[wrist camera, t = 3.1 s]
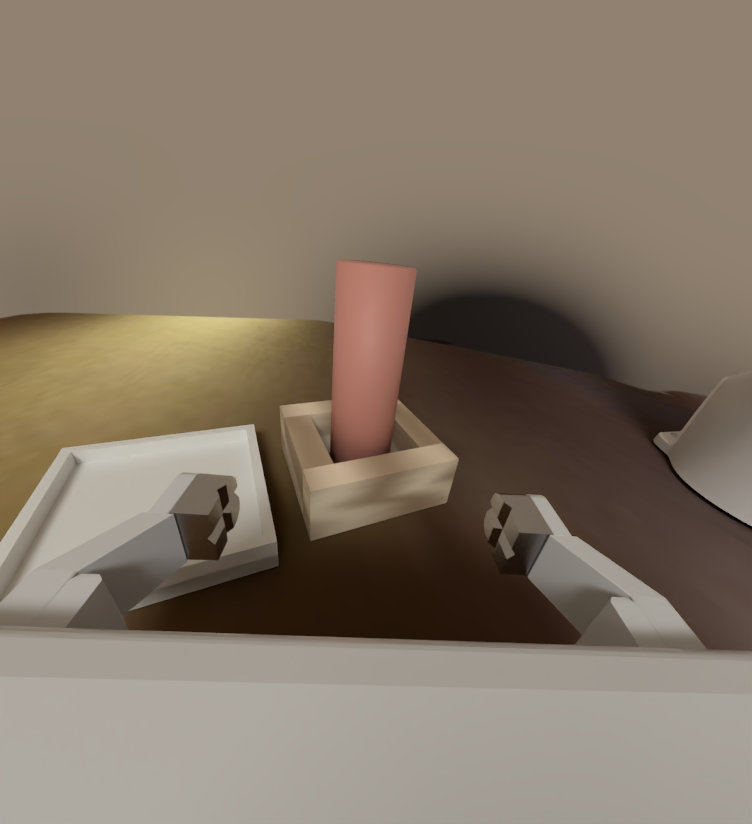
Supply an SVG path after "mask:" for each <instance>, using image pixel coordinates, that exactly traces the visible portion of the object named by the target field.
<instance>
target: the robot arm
mask: <svg viewBox="0 0 752 824" xmlns="http://www.w3.org/2000/svg"><path fill="white" fill-rule="evenodd" d="M653 442H654V443H655V444H656V445H657V446H658V447H659V448H660V449H661V450H662V451H663V452H665V453H666V454H667V455H668V457H669V459H670V461H671V464H672V466H673V468H674V469H675V471H676V472H677V473H678V475H679V476H680V477H681V478H682V479H683V480H684V481H685V482H686V483H687V484H688V485H689V486H691V487H692V488H693V489H694V490H695V491H697V492H698V493H699V494H701V495H702V496H703V497H705V498H706V499H708V500H709V501H710V502H712V503H713V504H715V505H716V506H718V507H720V508H721V509H723V510H724V511H726V512H728V513H729V514H731V515H733V516H734V517H736V518H738V519H739V520H741V521H743V522H745V523H747V524H748V525H750V526H752V371H749V372H746V373H742V374H736V375H733V376H731V377H725V378H723V379H722V380H721V381H720V382H719V383H718V384H717V385H716V386H715V388H714V389H713V390H712V392H711V393H710V394H709V395H708V397H707V398H706V399H705V400H704V402H703V403H702V404H701V406H700V407H699V408H698V409H697V411H696V412H695V413H694V415H693V416H692V417H691V418H690V420H689V421H688V422H687V424H686V425H685V426H684V428H683V429H682V430H681V431H678V432H660V433H658V435H657V436H656V437H655V438H654V439H653ZM236 488H237V482H236V478H235V477H234V476H226V475H214V474H203V473H200V474H198V473H188V472H183V473H181V474H179V475H178V476H177V477H176V478H175V479H174V481H173V482H172V483H171V484H170V485H169V487H168V488H167V489H166V490H165V492H164V493H163V494H162V495H161V496H160V498H159V499H158V500H157V501H156V503H155V504H154V505H153V506H152V508H151V509H150V510H149V511H148V512H141V513H140V514H138V515H136V516H134V517H132V518H130V519H128V520H126V521H124V522H123V523H121V524H119V525H117V526H115V527H113V528H111V529H109V530H108V531H106V532H104V533H102V534H100V535H98V536H96V537H94V538H92V539H91V540H89V541H87V542H85V543H83V544H81V545H79V546H77V547H75V548H74V549H72V550H70V551H68V552H66V553H64V554H62V555H60V556H58V557H57V558H55V559H53V560H51V561H49V562H47V563H45V564H43V565H42V566H40V567H38V568H36V569H34V570H33V571H32V572H31V573H30V574H29V575H28V576H27V577H26V578H25V579H24V580H23V581H22V582H21V583H20V584H19V585H18V586H17V587H16V588H15V589H14V590H13V591H12V592H11V593H10V594H9V595H7V596H6V597H5V598H4V599H3V600H2V601H1V602H0V824H752V651H740V650H710V649H707V648H706V647H705V646H704V645H703V643H702V642H701V641H700V640H699V639H698V637H697V636H696V635H695V634H694V632H693V631H692V630H691V629H690V628H689V626H688V625H687V624H686V623H685V621H684V620H683V619H682V618H681V617H680V615H679V614H678V613H677V612H676V610H675V609H674V608H673V607H672V605H671V604H670V603H669V602H668V601H667V599H666V598H665V597H663V596H662V595H660V594H659V593H657V592H656V591H654V590H653V589H652V588H650V587H649V586H647V585H646V584H644V583H643V582H641V581H640V580H639V579H637V578H636V577H634V576H633V575H631V574H630V573H628V572H627V571H626V570H624V569H623V568H621V567H620V566H618V565H617V564H616V563H614V562H613V561H611V560H610V559H608V558H607V557H605V556H604V555H603V554H601V553H600V552H598V551H597V550H595V549H594V548H592V547H591V546H590V545H588V544H587V543H585V542H584V541H582V540H581V539H579V538H578V537H574V536H571V534H570V533H569V531H568V530H567V528H566V527H565V525H564V524H563V522H562V521H561V519H560V518H559V517H558V515H557V514H556V512H555V511H554V509H553V508H552V506H551V505H550V503H549V502H548V500H547V499H546V498H545V497H544V496H542V495H528V494H526V495H524V494H506V493H495V494H494V495H493V497H492V499H491V504H492V507H493V508H491V509H490V510H489V511H487V512H486V515H485V519H484V531H485V536H486V538H487V541H488V542H489V543H490V544H491V545H492V546H493V547H494V548H495V549H494V552H493V557H494V559H495V562H496V564H497V567H498V569H499V572H500V574H510V575H523V576H528V578H529V580H530V581H531V582H532V583H533V584H534V585H535V586H536V587H537V588H538V589H539V590H540V591H541V592H542V593H543V594H544V595H545V596H546V598H547V599H548V600H549V601H550V602H551V603H552V604H553V605H554V606H555V607H556V608H557V609H558V610H559V611H560V612H561V613H562V614H563V615H564V617H565V618H566V619H567V620H568V621H569V622H570V623H571V624H572V625H573V626H574V627H575V628H576V629H577V630H578V631H579V632H580V633H581V635H582V636H581V637H580V638H579V640H578V641H577V642H576V643H575V645H561V644H531V643H501V642H472V641H442V640H412V639H381V638H351V637H320V636H290V635H260V634H231V633H201V632H172V631H142V630H129V628H128V626H127V624H126V622H125V621H124V619H123V616H124V615H125V614H126V613H127V612H129V611H130V610H131V609H132V608H133V607H134V606H136V605H137V604H138V603H139V602H140V601H141V600H143V599H144V598H145V597H146V596H147V595H149V594H150V593H151V592H152V591H153V590H154V589H156V588H157V587H158V586H159V585H160V584H162V583H163V582H164V581H165V580H166V579H167V578H169V577H170V576H171V575H172V574H173V573H174V572H176V571H177V570H178V569H179V568H180V567H182V566H183V565H184V564H185V563H186V562H187V560H219V558H220V556H221V554H222V552H223V550H224V548H225V545H226V543H227V541H228V539H227V532H229V531H230V530H232V529H233V528H234V526H235V524H236V522H237V519H238V515H239V511H240V500H239V496H237V495H236V494H235V493H234V492H235V490H236Z"/></svg>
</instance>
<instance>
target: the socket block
mask: <svg viewBox="0 0 752 824" xmlns="http://www.w3.org/2000/svg"><path fill="white" fill-rule="evenodd" d="M331 407H332V400H330V401H321V402H311V403H302V404H292V405H283V406H280V419H281V437H282V449H283V452H284V455H285V459H286V462H287V465H288V469H289V472H290V475H291V478H292V482H293V485H294V488H295V492H296V495H297V498H298V502H299V505H300V508H301V512H302V515H303V518H304V521H305V525H306V528H307V531H308V535H309V538H310V541H313V540H316V539H320V538H323V537H327V536H330V535H334V534H337V533H341V532H344V531H348V530H352V529H355V528H359V527H362V526H366V525H369V524H373V523H376V522H380V521H383V520H387V519H390V518H394V517H397V516H401V515H404V514H408V513H412V512H415V511H419V510H422V509H426V508H429V507H433V506H436V505H440V504H443V503H447V499H448V496H449V492H450V489H451V485H452V482H453V478H454V474H455V471H456V467H457V464H458V460H459V458H458V457H457V456H456V455H454V454H453V453H452V452H451V451H450V450H449V449H448V448H447V447H446V446H445V445H444V444H443V443H442V442H441V441H440V440H439V439H438V438H437V437H436V436H435V435H434V434H433V433H432V432H431V431H430V430H429V429H428V428H427V427H426V426H425V425H424V424H423V423H422V422H421V421H420V420H419V419H418V418H417V417H416V416H415V415H414V414H413V413H411V412H410V411H409V410H408V409H407V408H406V407H405V406H404V405H403V404H402V403H401V402H400V401H399V400H398V401H397V408H396V414H395V421H394V428H393V435H392V441H391V448H390V453H388V454H382V455H377V456H372V457H367V458H361V459H356V460H351V461H346V462H340V463H335V464H334V463H333V461H332V459H331V457H330V455H329V453H330V436H331Z"/></svg>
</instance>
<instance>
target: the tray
mask: <svg viewBox="0 0 752 824" xmlns="http://www.w3.org/2000/svg"><path fill="white" fill-rule="evenodd" d="M183 472H188V473H198V474H200V473H203V474H214V475H226V476H234V477H235V478H236V482H237V488H236V490H235V492H234V493H235V494H236V495H237V496H239V500H240V511H239V515H238V519H237V522H236V524H235V526H234V528H233V529H232V530H230V531H229V532H227V539H228V541H227V543H226V545H225V548H224V550H223V552H222V554H221V556H220V558H219V560H187V562H186V563H185V564H184V565H183V566H182V567H180V568H179V569H178V570H177V571H176V572H174V573H173V574H172V575H171V576H170V577H169V578H167V579H166V580H165V581H164V582H163V583H162V584H160V585H159V586H158V587H157V588H156V589H154V590H153V591H152V592H151V593H150V594H149V595H147V596H146V597H145V598H144V599H143V600H141V601H140V602H139V603H138V604H137V605H136V606H134V607H133V608H132V609H131V610H134V609H137V608H141V607H144V606H147V605H151V604H154V603H157V602H161V601H164V600H167V599H171V598H174V597H177V596H180V595H184V594H187V593H190V592H194V591H197V590H200V589H204V588H207V587H210V586H214V585H217V584H220V583H223V582H227V581H230V580H233V579H237V578H240V577H243V576H247V575H250V574H253V573H257V572H260V571H263V570H266V569H270V568H273V567H276V566H279V561H278V548H277V539H276V534H275V529H274V524H273V519H272V514H271V509H270V504H269V499H268V494H267V488H266V483H265V478H264V473H263V468H262V463H261V458H260V453H259V448H258V443H257V438H256V433H255V428H254V424H252V425H244V426H236V427H228V428H220V429H212V430H204V431H196V432H188V433H180V434H172V435H164V436H156V437H148V438H140V439H132V440H124V441H116V442H108V443H100V444H92V445H84V446H76V447H68V448H62V449H61V451H60V452H59V454H58V455H57V457H56V459H55V460H54V462H53V463H52V465H51V466H50V468H49V469H48V471H47V472H46V474H45V475H44V477H43V478H42V480H41V481H40V483H39V484H38V486H37V488H36V489H35V491H34V492H33V494H32V495H31V497H30V498H29V500H28V501H27V503H26V504H25V506H24V507H23V509H22V510H21V512H20V513H19V515H18V516H17V518H16V520H15V521H14V523H13V524H12V526H11V527H10V529H9V530H8V532H7V533H6V535H5V536H4V538H3V539H2V541H1V542H0V602H1V601H2V600H3V599H4V598H5V597H6V596H7V595H9V594H10V593H11V592H12V591H13V590H14V589H15V588H16V587H17V586H18V585H19V584H20V583H21V582H22V581H23V580H24V579H25V578H26V577H27V576H28V575H29V574H30V573H31V572H32V571H33V570H34V569H36V568H38V567H40V566H42V565H43V564H45V563H47V562H49V561H51V560H53V559H55V558H57V557H58V556H60V555H62V554H64V553H66V552H68V551H70V550H72V549H74V548H75V547H77V546H79V545H81V544H83V543H85V542H87V541H89V540H91V539H92V538H94V537H96V536H98V535H100V534H102V533H104V532H106V531H108V530H109V529H111V528H113V527H115V526H117V525H119V524H121V523H123V522H124V521H126V520H128V519H130V518H132V517H134V516H136V515H138V514H140V513H141V512H148V511H149V510H150V509H151V508H152V506H153V505H154V504H155V503H156V501H157V500H158V499H159V498H160V496H161V495H162V494H163V493H164V492H165V490H166V489H167V488H168V487H169V485H170V484H171V483H172V482H173V481H174V479H175V478H176V477H177V476H178V475H179V474H181V473H183ZM131 610H130V611H131Z"/></svg>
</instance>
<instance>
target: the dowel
mask: <svg viewBox="0 0 752 824" xmlns="http://www.w3.org/2000/svg"><path fill="white" fill-rule="evenodd" d="M416 273H417V269H415V268H411V267H407V266H401V265H395V264H388V263H379V262H371V261H358V260H337V263H336V292H335V294H336V295H335V320H334V349H333V378H332V407H331V436H330V457H331V459H332V461H333V463H334V464H335V463H340V462H346V461H351V460H356V459H361V458H367V457H372V456H377V455H382V454H388V453H390V448H391V441H392V435H393V428H394V421H395V414H396V408H397V401H398V394H399V387H400V381H401V374H402V367H403V360H404V354H405V347H406V340H407V333H408V327H409V320H410V313H411V306H412V300H413V292H414V286H415V279H416Z"/></svg>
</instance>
